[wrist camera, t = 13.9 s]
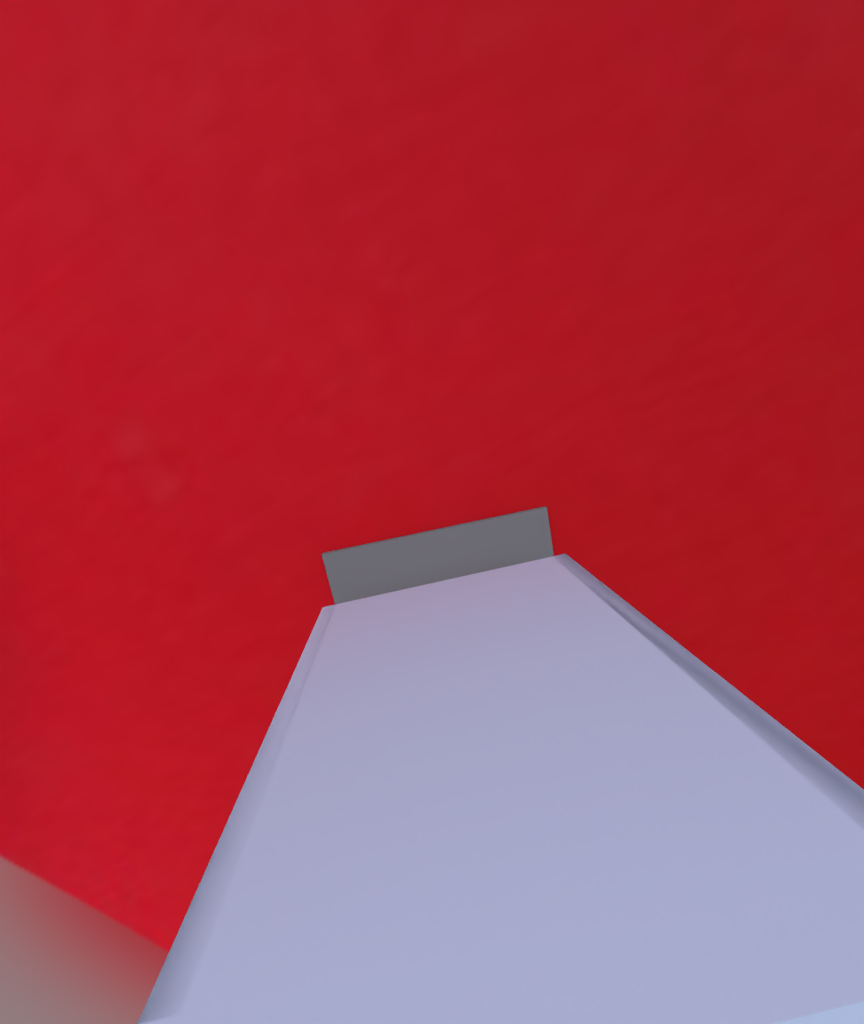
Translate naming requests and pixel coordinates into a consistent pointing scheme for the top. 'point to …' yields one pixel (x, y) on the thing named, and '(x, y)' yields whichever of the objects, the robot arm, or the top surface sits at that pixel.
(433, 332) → the top surface
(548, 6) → the top surface
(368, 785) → the periwinkle rectangular block
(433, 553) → the tape square
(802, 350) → the top surface
